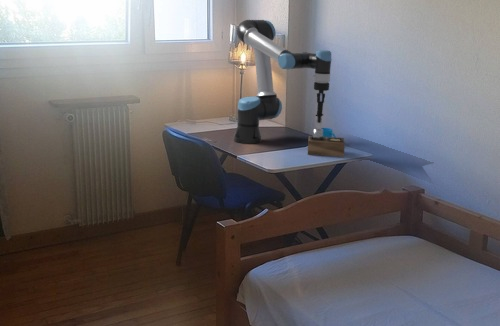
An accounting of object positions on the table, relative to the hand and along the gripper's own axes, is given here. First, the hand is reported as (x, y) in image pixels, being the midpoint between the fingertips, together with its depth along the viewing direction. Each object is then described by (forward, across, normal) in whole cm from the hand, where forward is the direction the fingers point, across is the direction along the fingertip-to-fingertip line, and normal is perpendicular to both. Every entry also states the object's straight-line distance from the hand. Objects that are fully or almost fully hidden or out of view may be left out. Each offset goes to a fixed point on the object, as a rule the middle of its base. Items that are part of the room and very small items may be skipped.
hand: (318, 128), depth 288 cm
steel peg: (+7, 0, 0) cm, 7 cm away
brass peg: (+12, 0, +9) cm, 15 cm away
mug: (+13, -19, +5) cm, 24 cm away
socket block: (+13, 0, +4) cm, 13 cm away
